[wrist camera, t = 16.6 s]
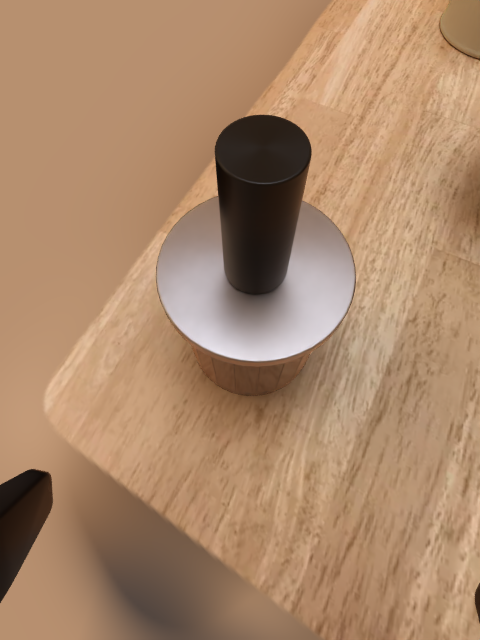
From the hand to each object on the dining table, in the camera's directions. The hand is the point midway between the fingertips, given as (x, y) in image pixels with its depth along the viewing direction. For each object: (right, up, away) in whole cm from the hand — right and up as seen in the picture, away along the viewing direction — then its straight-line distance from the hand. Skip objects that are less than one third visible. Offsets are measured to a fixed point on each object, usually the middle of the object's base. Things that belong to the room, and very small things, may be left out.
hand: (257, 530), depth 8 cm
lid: (0, +6, +8) cm, 11 cm away
